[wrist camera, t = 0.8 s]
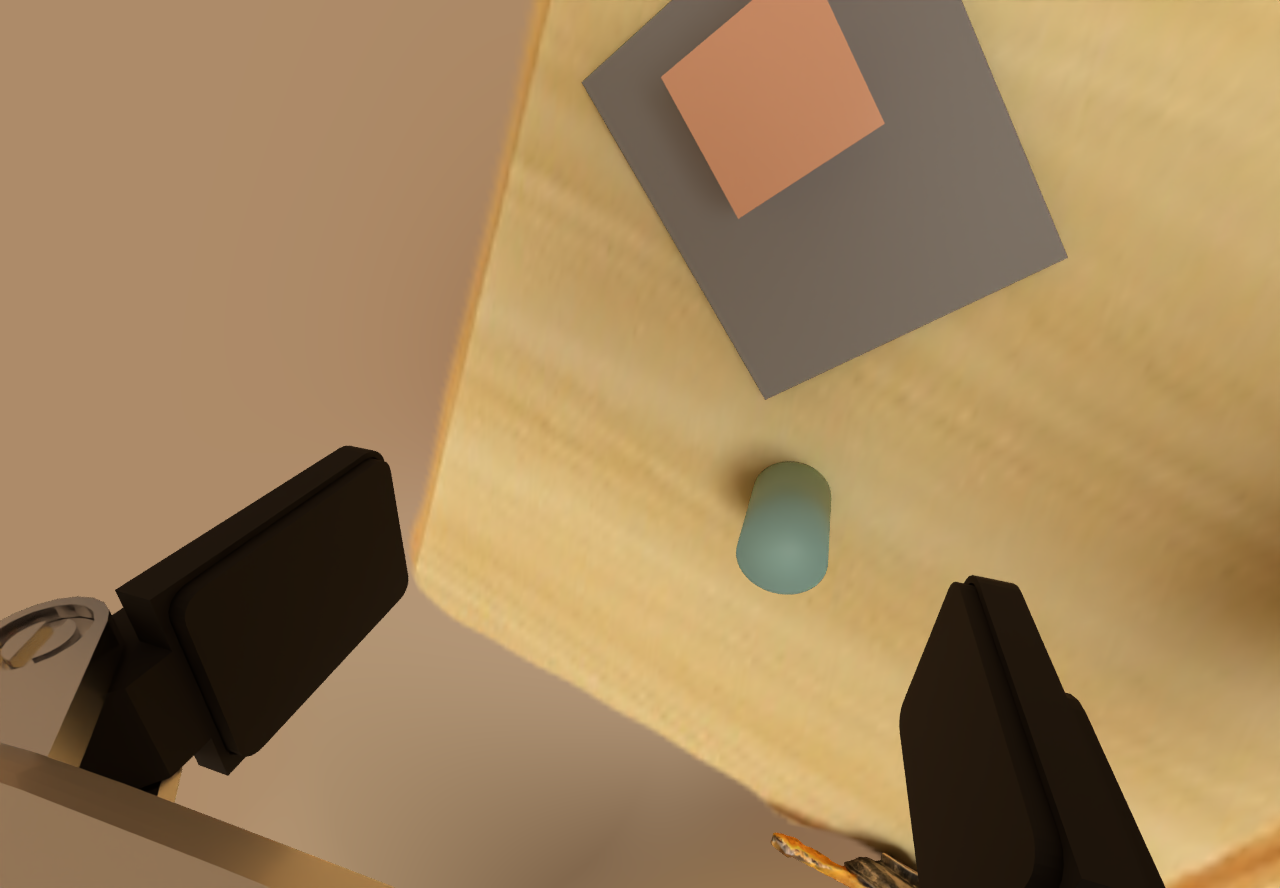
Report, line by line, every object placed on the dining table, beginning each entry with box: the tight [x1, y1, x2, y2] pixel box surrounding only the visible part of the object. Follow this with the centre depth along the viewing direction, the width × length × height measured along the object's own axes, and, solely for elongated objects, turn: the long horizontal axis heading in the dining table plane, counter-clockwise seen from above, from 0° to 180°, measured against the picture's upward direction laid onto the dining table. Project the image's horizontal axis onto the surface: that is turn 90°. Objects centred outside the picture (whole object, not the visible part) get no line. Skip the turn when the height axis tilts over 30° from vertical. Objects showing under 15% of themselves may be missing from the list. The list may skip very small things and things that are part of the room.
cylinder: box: [736, 462, 831, 594], centre depth 36 cm, size 5×5×7 cm
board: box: [582, 0, 1068, 400], centre depth 30 cm, size 16×20×1 cm
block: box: [661, 0, 885, 219], centre depth 26 cm, size 6×6×6 cm
